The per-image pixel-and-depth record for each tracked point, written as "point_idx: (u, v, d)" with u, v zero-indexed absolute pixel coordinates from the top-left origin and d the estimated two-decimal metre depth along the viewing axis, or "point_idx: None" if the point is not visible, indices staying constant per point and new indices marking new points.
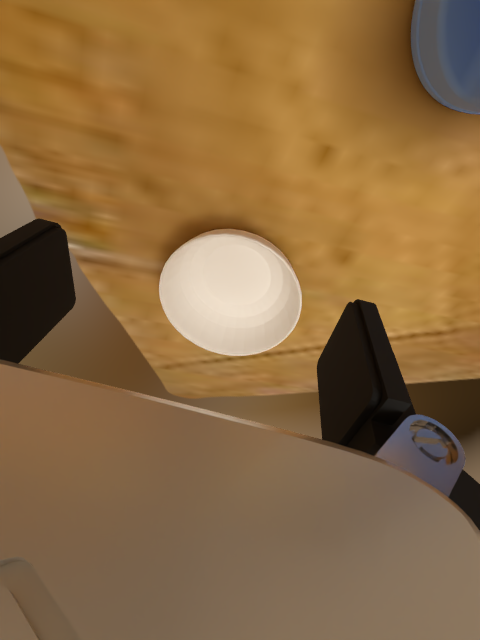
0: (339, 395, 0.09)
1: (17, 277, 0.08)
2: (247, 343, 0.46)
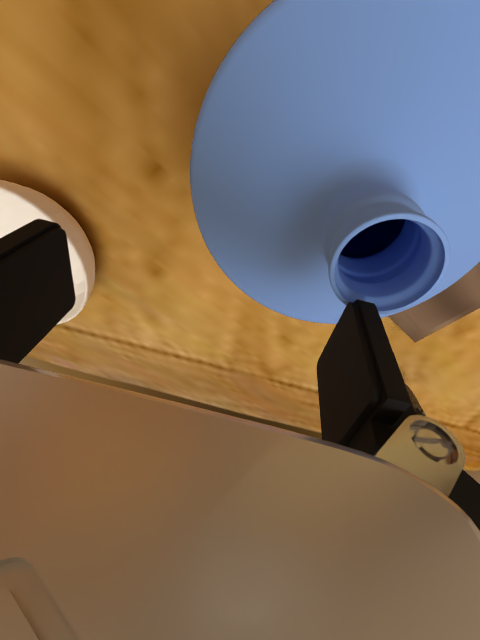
0: (339, 395, 0.09)
1: (17, 277, 0.08)
2: None
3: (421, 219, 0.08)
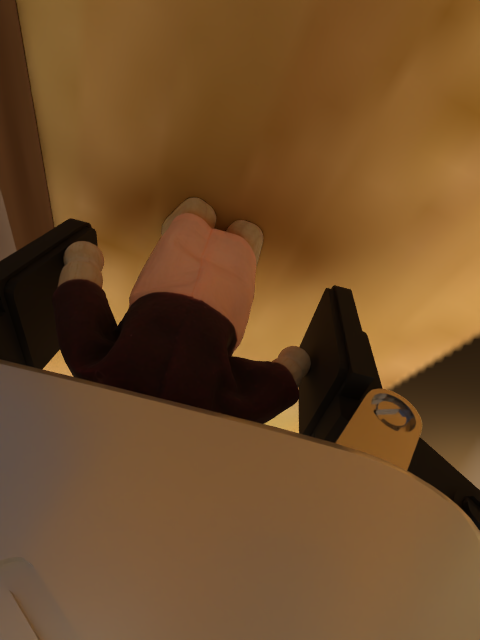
0: (314, 375, 0.09)
1: (55, 274, 0.08)
2: None
3: None
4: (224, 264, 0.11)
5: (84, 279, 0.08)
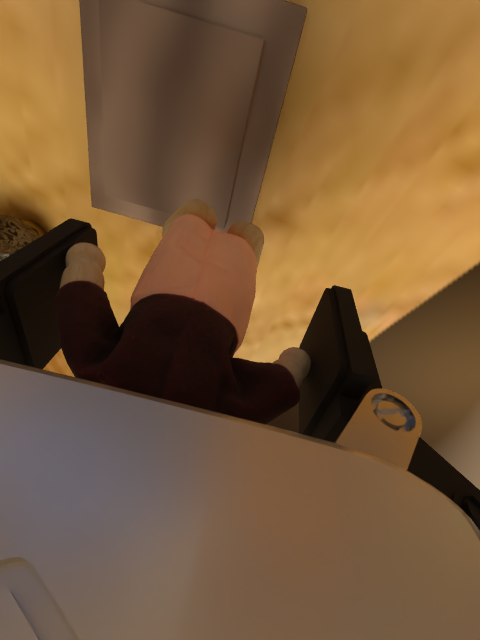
0: (314, 375, 0.09)
1: (55, 274, 0.08)
2: None
3: None
4: (225, 265, 0.11)
5: (86, 281, 0.08)
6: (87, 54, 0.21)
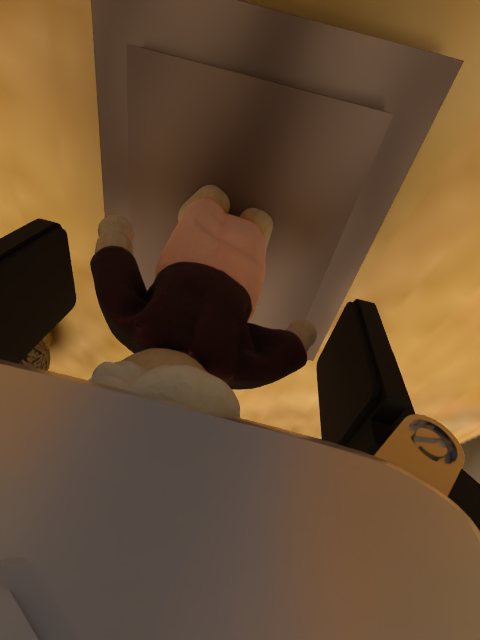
0: (338, 395, 0.09)
1: (18, 277, 0.08)
2: None
3: None
4: (238, 245, 0.12)
5: (119, 246, 0.09)
6: (106, 130, 0.15)
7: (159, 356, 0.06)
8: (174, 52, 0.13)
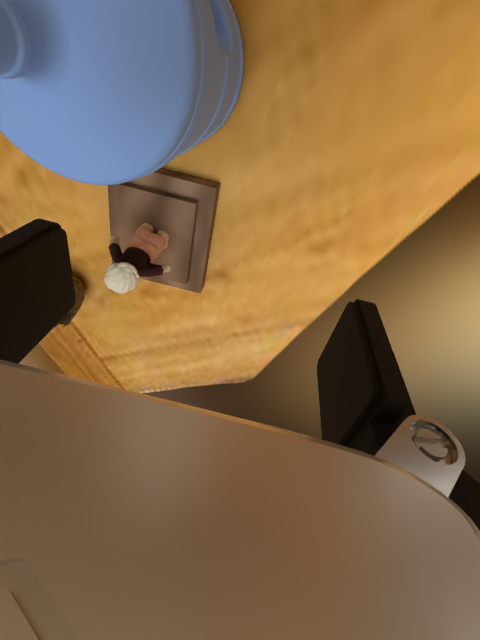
0: (339, 395, 0.09)
1: (17, 277, 0.08)
2: None
3: None
4: (152, 242, 0.40)
5: (115, 243, 0.36)
6: (111, 203, 0.42)
7: None
8: (132, 182, 0.40)
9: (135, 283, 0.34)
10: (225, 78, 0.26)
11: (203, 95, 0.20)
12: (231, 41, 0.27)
